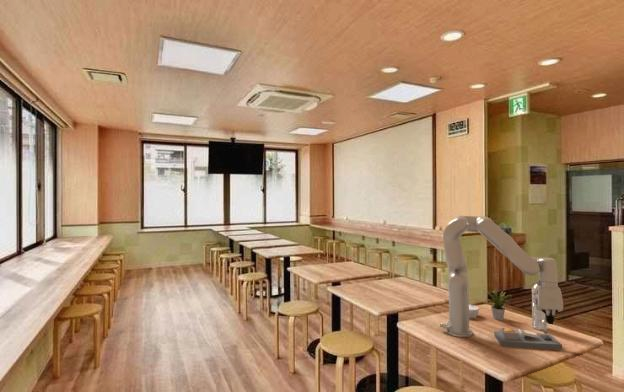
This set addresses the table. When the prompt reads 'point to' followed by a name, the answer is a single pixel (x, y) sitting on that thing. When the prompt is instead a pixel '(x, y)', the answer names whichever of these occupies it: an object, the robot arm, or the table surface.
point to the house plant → (498, 305)
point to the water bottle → (537, 312)
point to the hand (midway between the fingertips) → (549, 323)
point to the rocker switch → (527, 333)
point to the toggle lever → (545, 327)
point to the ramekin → (473, 311)
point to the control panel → (526, 340)
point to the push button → (508, 330)
